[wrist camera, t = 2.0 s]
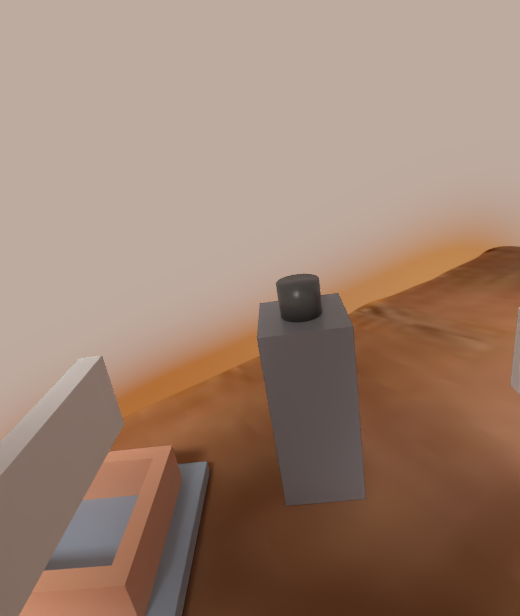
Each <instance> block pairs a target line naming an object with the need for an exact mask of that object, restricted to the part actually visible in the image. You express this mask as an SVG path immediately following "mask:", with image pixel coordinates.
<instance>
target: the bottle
mask: <svg viewBox="0 0 520 616" xmlns="http://www.w3.org/2000/svg"><path fill="white" fill-rule="evenodd" d="M276 287H277V293H278V301H274V302H268V303H260V308H259V320H258V332H257V341H258V347H259V352H260V358H261V364H262V370H263V376H264V381H265V387H266V393H267V399H268V404H269V410H270V416H271V422H272V427H273V433H274V439H275V445H276V450H277V456H278V462H279V468H280V473H281V479H282V485H283V491H284V496H285V502H286V506H292V505H303V504H315V503H326V502H337V501H349V500H360V499H366V498H365V484H364V470H363V456H362V442H361V428H360V414H359V400H358V386H357V372H356V358H355V344H354V330H353V325H352V322H351V320H350V318H349V316H348V314H347V311H346V309H345V307H344V305H343V303H342V300H341V298H340V296H339V294H338V293H335V294H327V295H320V285H319V278H318V277H317V276H316V275H312V274H297V275H291V276H287V277H284V278H282V279H280V280H278V281H277V283H276Z"/></svg>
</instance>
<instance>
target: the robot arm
mask: <svg viewBox="0 0 520 616" xmlns="http://www.w3.org/2000/svg"><path fill="white" fill-rule="evenodd" d="M511 386H512V387H513V388H514V389H515V390H516V391H517V392H518V393H519V394H520V307H519V308H518V317H517V327H516V337H515V346H514V356H513V365H512V375H511ZM123 425H124V421H123V418H122V416H121V412H120V409H119V406H118V403H117V400H116V397H115V394H114V391H113V388H112V385H111V382H110V378H109V375H108V372H107V369H106V366H105V363H104V360H103V357H102V356H101V355H100V356H92V357H83V358H79V359H78V360H77V361H76V362H75V363H74V365H73V366H72V367H71V368H70V369H69V370H68V371H67V372H66V373H65V374H64V375H63V376H62V378H60V379H59V381H58V382H57V383H56V384H55V385H54V386H53V387H52V388H51V389H50V390H49V391H48V392H47V393H46V394H45V395H44V396H43V397H42V399H41V400H40V401H39V402H38V403H37V404H36V405H35V406H34V407H33V408H32V409H31V410H30V411H29V412H28V413H27V415H26V416H25V417H24V418H23V419H22V420H21V421H20V422H19V423H18V424H17V425H16V426H15V427H14V428H13V429H12V430H11V431H10V433H9V434H8V435H7V436H6V437H5V438H4V439H3V440H2V441H1V442H0V616H19V615H20V613H21V611H22V609H23V607H24V606H25V604H26V602H27V600H28V598H29V597H30V595H31V593H32V591H33V589H34V587H35V586H36V584H37V582H38V580H39V578H40V576H41V575H42V573H43V571H44V569H45V567H46V566H47V564H48V562H49V560H50V558H51V556H52V555H53V553H54V551H55V549H56V547H57V545H58V544H59V542H60V540H61V538H62V536H63V535H64V533H65V531H66V529H67V527H68V525H69V524H70V522H71V520H72V518H73V516H74V515H75V513H76V511H77V509H78V507H79V505H80V504H81V502H82V500H83V498H84V496H85V494H86V493H87V491H88V489H89V487H90V485H91V484H92V482H93V480H94V478H95V476H96V474H97V473H98V471H99V469H100V467H101V465H102V463H103V462H104V460H105V458H106V456H107V454H108V453H109V451H110V449H111V447H112V445H113V443H114V442H115V440H116V438H117V436H118V434H119V432H120V431H121V429H122V427H123Z"/></svg>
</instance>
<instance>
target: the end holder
mask: <svg viewBox="0 0 520 616" xmlns="http://www.w3.org/2000/svg"><path fill="white" fill-rule="evenodd" d="M209 473H210V471H209V467H208V463H207V461H205V462H195V463H185V464H178V463H177V460H176V457H175V453H174V450H173V446H172V445H169V446H159V447H149V448H140V449H130V450H121V451H111V452H109V453H108V454H107V456H106V458H105V460H104V462H103V463H102V465H101V467H100V469H99V471H98V473H97V474H96V476H95V478H94V480H93V482H92V484H91V485H90V487H89V489H88V491H87V493H86V494H85V496H84V498H83V500H82V502H81V504H80V505H79V507H78V509H77V511H76V513H75V515H74V516H73V518H72V520H71V522H70V524H69V525H68V527H67V529H66V531H65V533H64V535H63V536H62V538H61V540H60V542H59V544H58V545H57V547H56V549H55V551H54V553H53V555H52V556H51V558H50V560H49V562H48V564H47V566H46V567H45V569H44V571H43V573H42V575H41V576H40V578H39V580H38V582H37V584H36V586H35V587H34V589H33V591H32V593H31V595H30V597H29V598H28V600H27V602H26V604H25V606H24V607H23V609H22V611H21V613H20V615H19V616H182V612H183V607H184V602H185V597H186V592H187V587H188V581H189V576H190V571H191V566H192V561H193V556H194V550H195V545H196V540H197V535H198V530H199V525H200V520H201V514H202V509H203V504H204V499H205V494H206V489H207V483H208V478H209Z"/></svg>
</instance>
